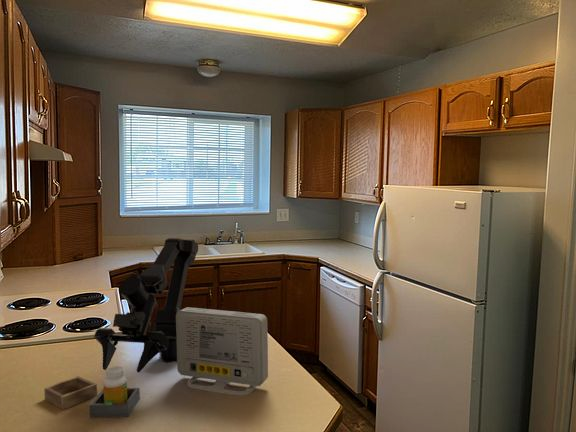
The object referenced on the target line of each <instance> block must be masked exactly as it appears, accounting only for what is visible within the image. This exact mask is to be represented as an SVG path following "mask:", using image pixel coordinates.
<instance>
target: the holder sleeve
mask: <svg viewBox="0 0 576 432" xmlns="http://www.w3.org/2000/svg"><path fill="white" fill-rule="evenodd" d="M97 387H98V385H97V383H94V382H92V381H90V380H88V379H86V378H83V377H81V376H79V375H77V376H75V377H71V378H68V379H66V380H63V381H59V382H58V383H55V384H52V385H49V386H46V387H43V388H44V390H43V391H44V400H45V401H47V402H49V403H51V404H52V405H55V407H59V408H60V409H62V410H66V409H68V408H70V407H72V406H76V405H78V404H80V403H82V402H84V401H87V400H89V399H92V398H96V397H97V396H98V389H97Z"/></svg>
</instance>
